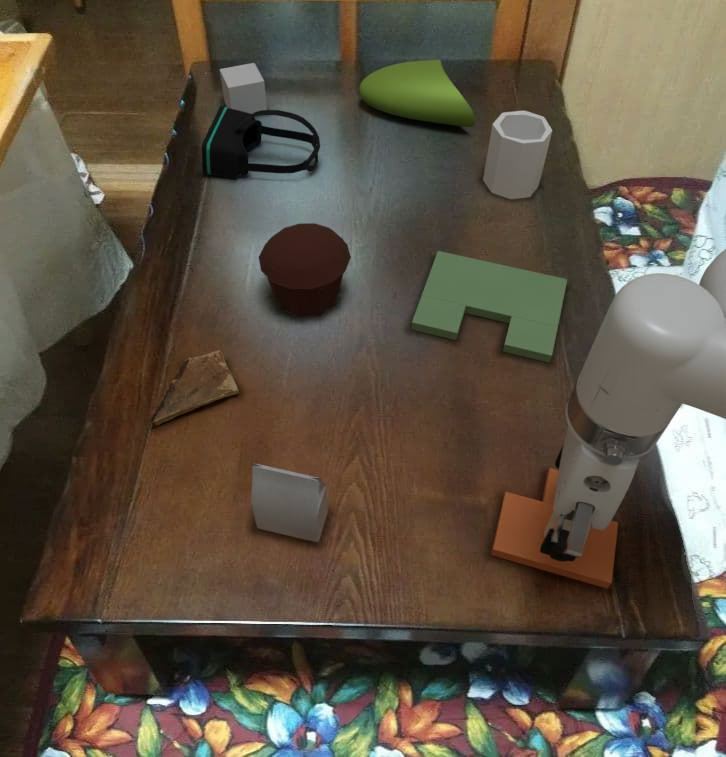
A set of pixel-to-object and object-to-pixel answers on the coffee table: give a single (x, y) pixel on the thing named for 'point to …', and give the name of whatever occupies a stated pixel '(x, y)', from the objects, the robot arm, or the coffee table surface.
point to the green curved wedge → (417, 93)
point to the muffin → (305, 268)
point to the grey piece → (288, 502)
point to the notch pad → (492, 302)
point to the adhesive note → (243, 88)
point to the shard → (196, 386)
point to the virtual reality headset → (249, 143)
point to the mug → (516, 154)
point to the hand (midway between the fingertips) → (563, 509)
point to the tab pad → (530, 539)
